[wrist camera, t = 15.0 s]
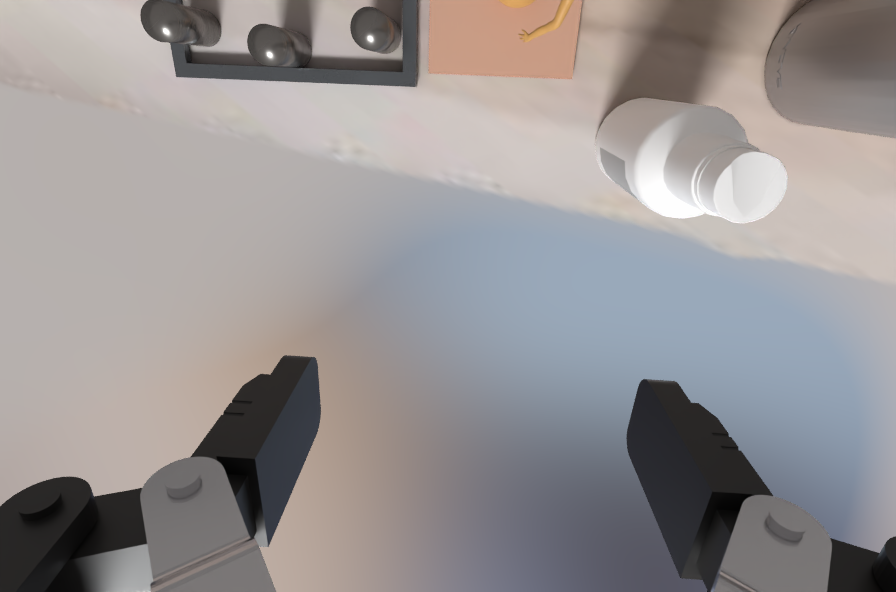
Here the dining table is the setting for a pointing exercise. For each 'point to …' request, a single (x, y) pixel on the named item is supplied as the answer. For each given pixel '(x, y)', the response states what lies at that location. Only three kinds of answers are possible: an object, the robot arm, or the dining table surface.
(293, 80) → the standoff field
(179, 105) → the dining table surface
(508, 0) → the figurine
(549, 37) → the terracotta tile
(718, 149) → the white piece
